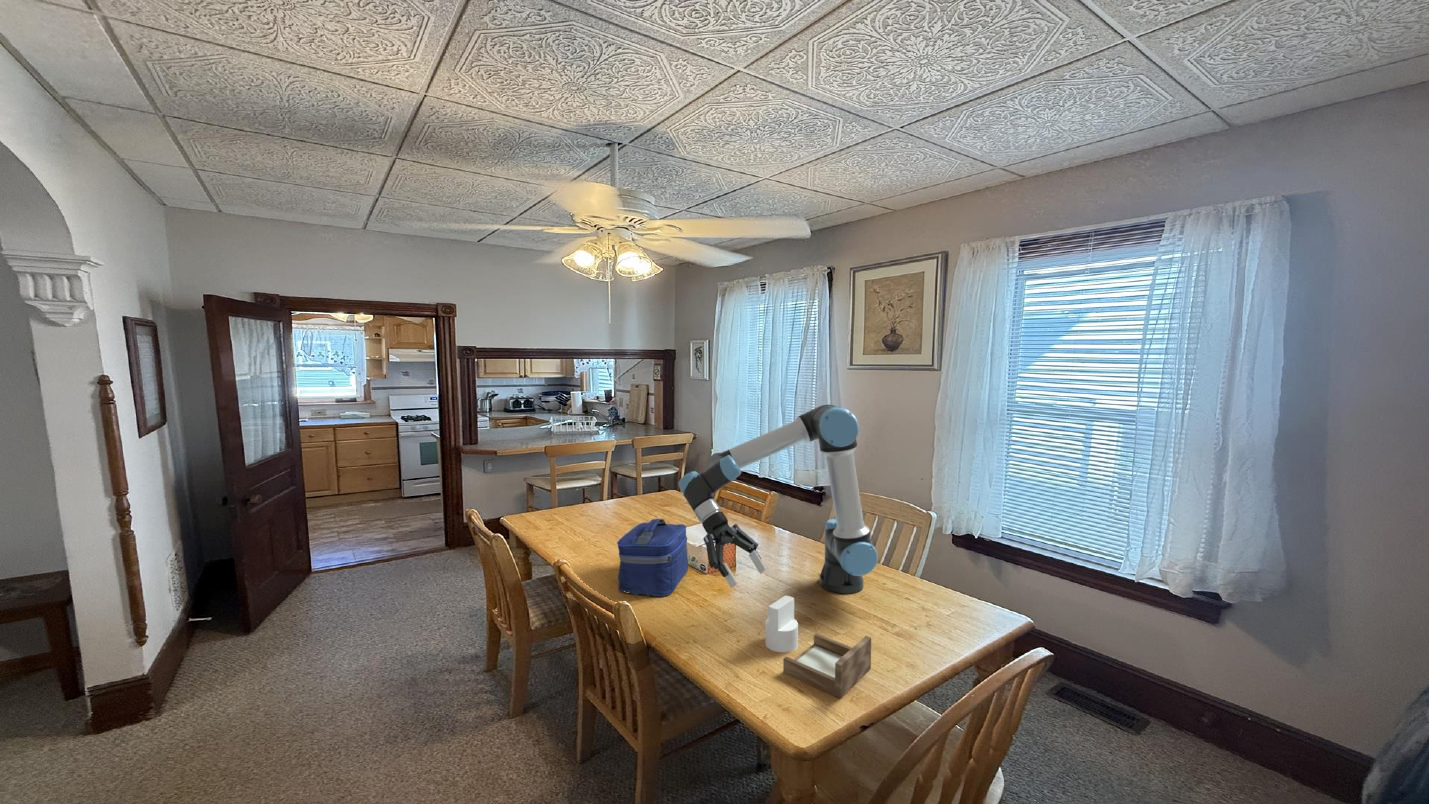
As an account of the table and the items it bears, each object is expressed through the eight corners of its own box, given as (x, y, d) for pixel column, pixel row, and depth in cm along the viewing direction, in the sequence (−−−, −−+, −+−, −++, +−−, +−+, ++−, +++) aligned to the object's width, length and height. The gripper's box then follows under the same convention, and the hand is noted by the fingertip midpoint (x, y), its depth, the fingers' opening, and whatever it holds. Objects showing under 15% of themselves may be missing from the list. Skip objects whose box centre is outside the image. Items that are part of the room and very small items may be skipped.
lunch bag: (642, 560, 208) (641, 510, 206) (693, 564, 204) (693, 513, 202) (612, 595, 177) (611, 536, 176) (672, 600, 173) (671, 539, 172)
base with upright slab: (776, 632, 152) (776, 592, 151) (803, 642, 146) (804, 601, 146) (759, 645, 145) (759, 603, 144) (787, 656, 140) (787, 613, 139)
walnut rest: (816, 646, 144) (816, 617, 144) (870, 668, 134) (871, 637, 133) (783, 672, 132) (783, 641, 132) (840, 698, 122) (841, 665, 121)
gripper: (731, 515, 172) (767, 571, 163) (676, 533, 154) (714, 598, 145) (743, 502, 168) (781, 559, 159) (689, 519, 150) (728, 585, 141)
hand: (749, 578), depth 152 cm, fingers open, 13 cm apart
